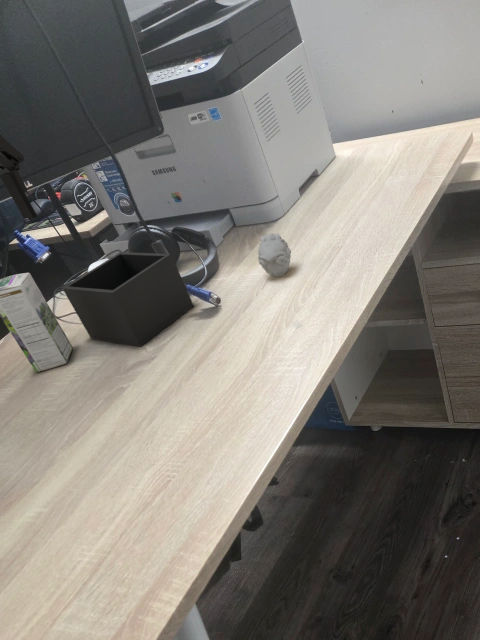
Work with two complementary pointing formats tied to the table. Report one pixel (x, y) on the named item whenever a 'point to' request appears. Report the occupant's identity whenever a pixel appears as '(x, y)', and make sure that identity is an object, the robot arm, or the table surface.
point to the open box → (129, 297)
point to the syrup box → (33, 323)
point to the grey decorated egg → (274, 255)
